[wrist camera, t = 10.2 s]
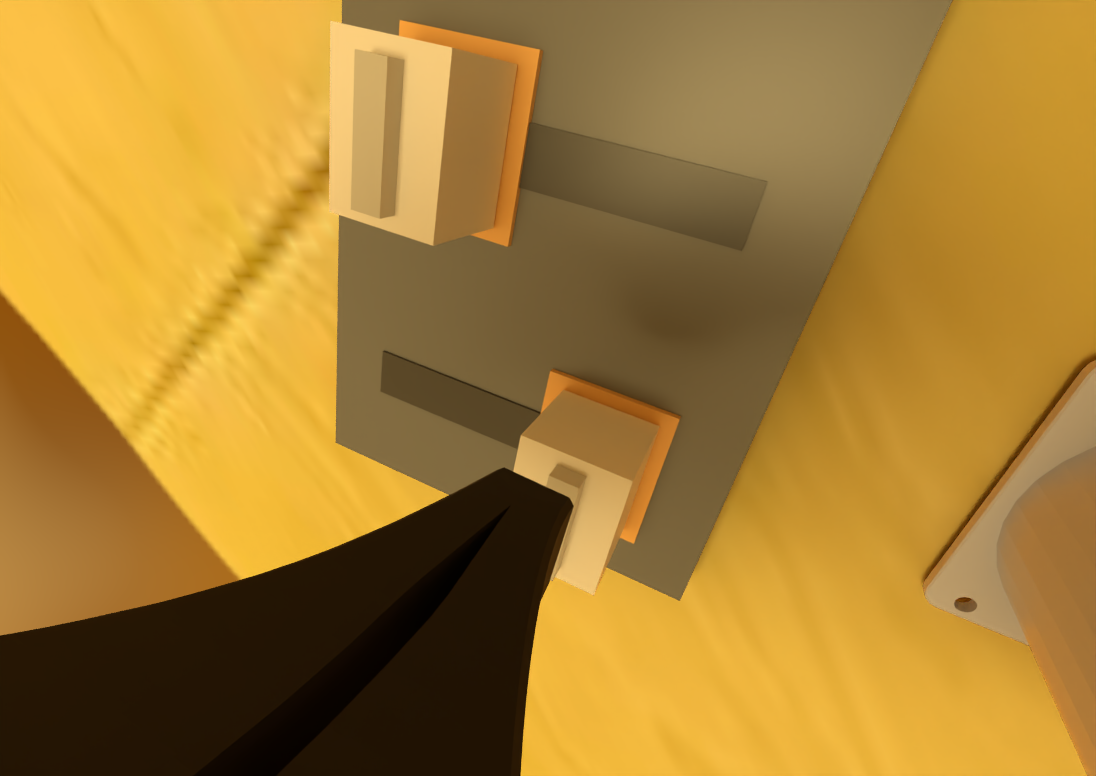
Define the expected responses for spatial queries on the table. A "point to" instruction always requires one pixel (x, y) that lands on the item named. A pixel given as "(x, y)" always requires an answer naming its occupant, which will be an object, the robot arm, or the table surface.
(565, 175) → the switch board
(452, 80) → the switch
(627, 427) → the switch
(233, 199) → the table surface
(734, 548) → the table surface
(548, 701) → the table surface
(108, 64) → the table surface
